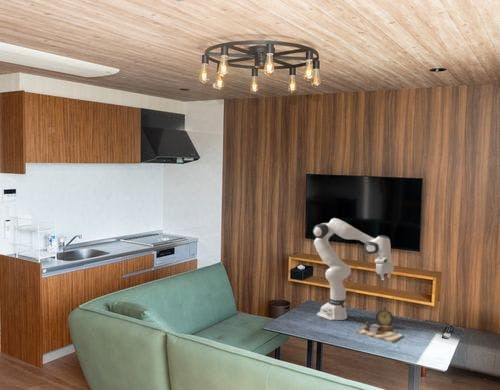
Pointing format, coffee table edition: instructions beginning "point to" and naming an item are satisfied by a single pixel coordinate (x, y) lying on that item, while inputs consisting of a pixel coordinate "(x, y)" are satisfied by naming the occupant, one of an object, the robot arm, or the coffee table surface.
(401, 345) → the coffee table surface
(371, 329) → the keeper
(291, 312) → the coffee table surface
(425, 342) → the coffee table surface
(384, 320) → the alarm clock
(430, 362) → the coffee table surface
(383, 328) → the link
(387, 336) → the base board
